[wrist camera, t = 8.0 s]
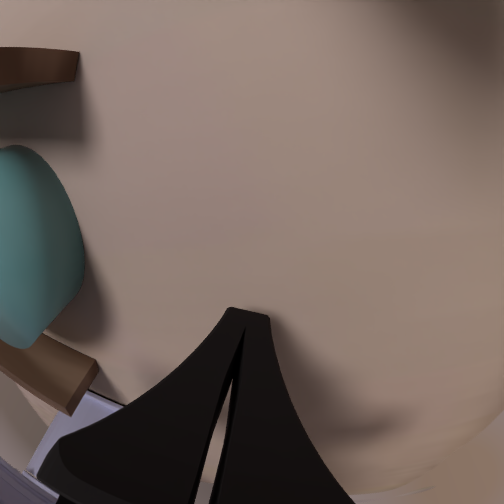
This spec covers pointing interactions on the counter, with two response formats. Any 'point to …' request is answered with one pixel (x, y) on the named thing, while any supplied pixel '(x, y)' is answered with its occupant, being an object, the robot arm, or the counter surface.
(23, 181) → the teal flat rounded lump
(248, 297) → the counter surface
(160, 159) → the counter surface
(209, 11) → the counter surface
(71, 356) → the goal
